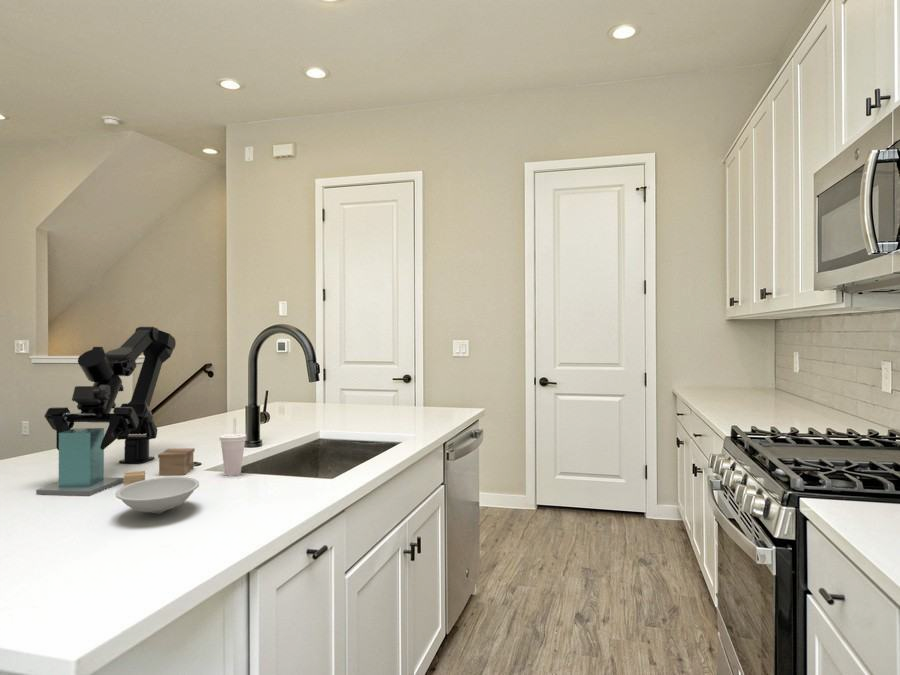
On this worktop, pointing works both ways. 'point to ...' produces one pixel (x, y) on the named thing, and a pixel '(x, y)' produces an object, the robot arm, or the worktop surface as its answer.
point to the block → (133, 477)
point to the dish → (157, 493)
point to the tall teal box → (81, 457)
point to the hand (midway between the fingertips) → (80, 448)
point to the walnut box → (176, 461)
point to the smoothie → (233, 451)
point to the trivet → (80, 488)
